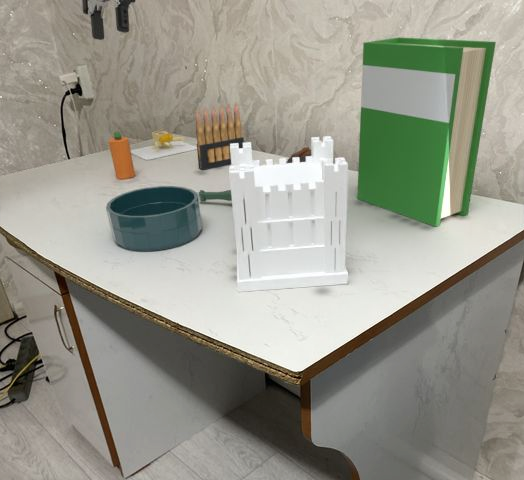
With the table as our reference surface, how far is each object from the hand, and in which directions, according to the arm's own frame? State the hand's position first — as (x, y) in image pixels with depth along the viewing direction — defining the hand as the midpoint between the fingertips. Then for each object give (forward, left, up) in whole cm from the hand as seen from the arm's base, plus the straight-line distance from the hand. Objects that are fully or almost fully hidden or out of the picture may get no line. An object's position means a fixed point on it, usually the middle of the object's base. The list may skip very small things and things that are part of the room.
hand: (110, 35), depth 101 cm
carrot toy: (-2, -1, -26) cm, 26 cm away
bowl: (+5, -36, -26) cm, 45 cm away
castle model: (+23, -53, -26) cm, 63 cm away
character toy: (+6, +19, -26) cm, 33 cm away
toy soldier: (+27, -24, -26) cm, 45 cm away
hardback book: (+47, -37, -26) cm, 65 cm away
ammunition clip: (+19, 0, -26) cm, 32 cm away
